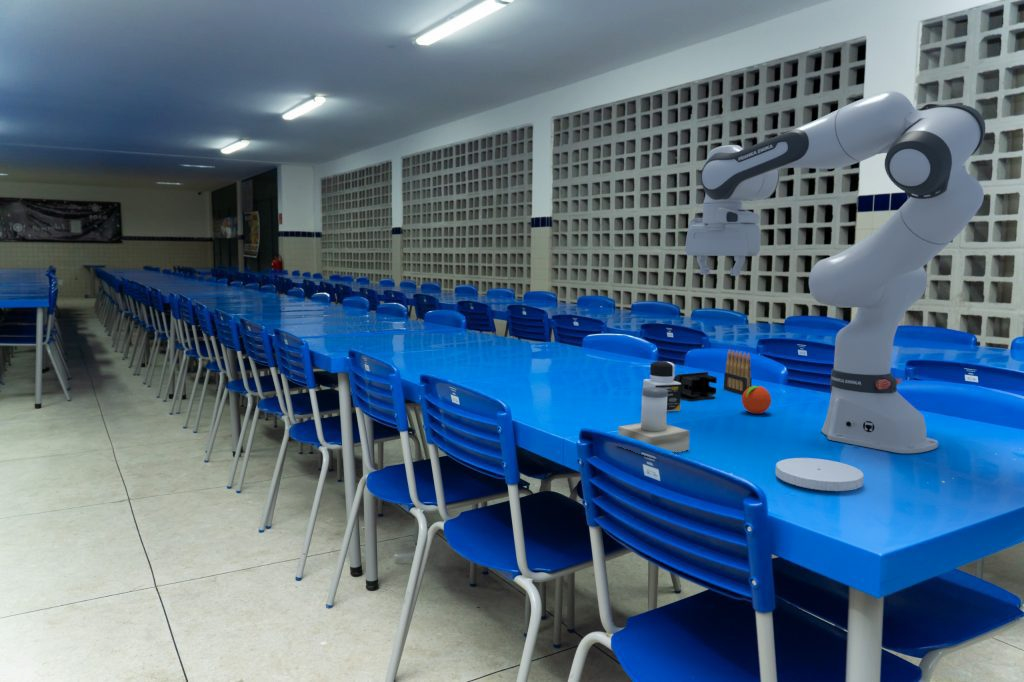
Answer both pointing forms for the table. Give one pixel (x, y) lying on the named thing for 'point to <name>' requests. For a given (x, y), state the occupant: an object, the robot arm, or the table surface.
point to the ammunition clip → (737, 372)
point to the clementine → (756, 399)
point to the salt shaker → (654, 409)
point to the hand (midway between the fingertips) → (719, 275)
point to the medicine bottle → (665, 382)
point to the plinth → (659, 436)
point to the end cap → (696, 386)
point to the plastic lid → (819, 474)
